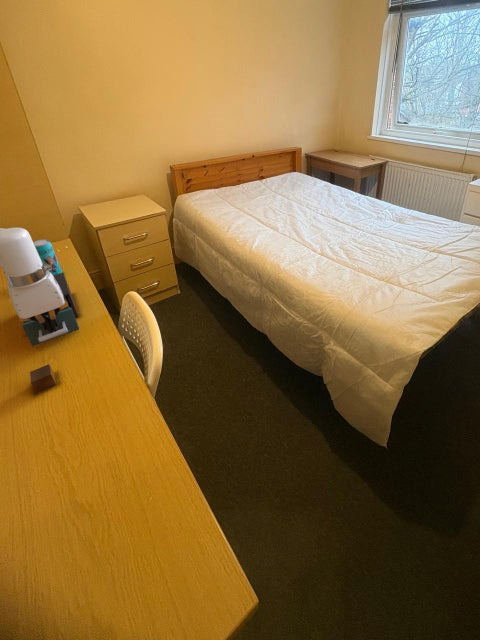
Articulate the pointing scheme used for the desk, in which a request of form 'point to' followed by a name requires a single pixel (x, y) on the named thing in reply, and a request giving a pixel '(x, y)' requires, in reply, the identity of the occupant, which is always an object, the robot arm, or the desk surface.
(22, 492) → the desk surface
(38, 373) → the block
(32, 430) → the desk surface
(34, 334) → the drawer
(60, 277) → the cabinet
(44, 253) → the beverage can
